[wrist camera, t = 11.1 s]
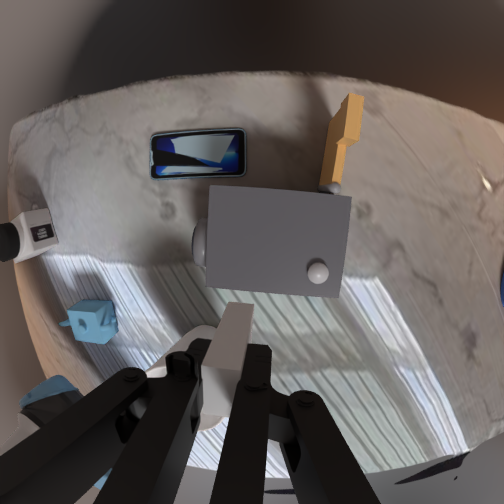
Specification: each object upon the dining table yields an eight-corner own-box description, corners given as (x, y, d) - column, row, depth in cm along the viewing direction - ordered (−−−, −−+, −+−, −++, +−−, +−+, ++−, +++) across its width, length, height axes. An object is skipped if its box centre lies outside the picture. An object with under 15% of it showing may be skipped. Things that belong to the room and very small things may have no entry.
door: (326, 122, 37) (349, 92, 24) (337, 125, 37) (364, 96, 24) (315, 191, 40) (334, 191, 26) (326, 193, 40) (350, 195, 26)
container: (48, 207, 44) (1, 214, 31) (59, 243, 46) (12, 259, 33) (29, 221, 45) (-16, 231, 33) (39, 255, 47) (-5, 271, 34)
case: (205, 263, 44) (184, 286, 33) (208, 185, 41) (187, 184, 31) (325, 274, 42) (339, 299, 32) (334, 195, 40) (353, 196, 29)
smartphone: (246, 176, 40) (149, 180, 41) (246, 177, 41) (152, 180, 42) (246, 127, 38) (150, 134, 39) (246, 129, 39) (152, 135, 40)
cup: (182, 301, 45) (142, 350, 30) (251, 325, 45) (238, 387, 30) (169, 355, 48) (134, 411, 32) (230, 378, 48) (213, 442, 32)
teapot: (81, 324, 49) (60, 340, 42) (74, 297, 48) (51, 310, 40) (127, 329, 48) (108, 348, 40) (120, 299, 47) (98, 315, 39)
